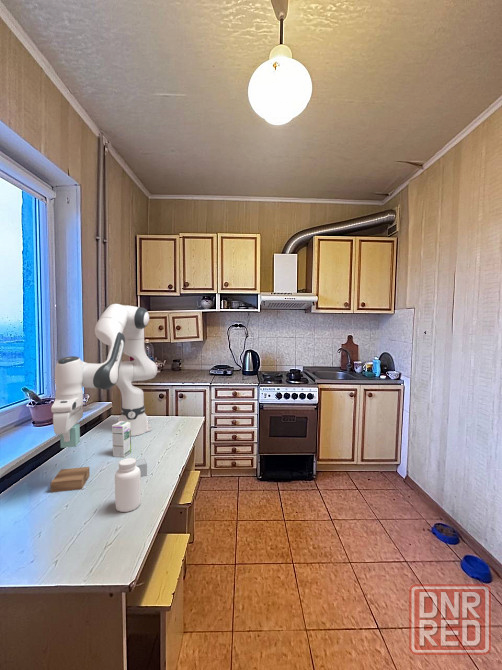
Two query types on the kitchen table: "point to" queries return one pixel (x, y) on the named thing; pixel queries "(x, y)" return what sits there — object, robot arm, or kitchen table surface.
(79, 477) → the base block
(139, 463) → the grey block
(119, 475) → the pill bottle
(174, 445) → the kitchen table surface
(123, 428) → the syrup box
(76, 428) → the teal block
